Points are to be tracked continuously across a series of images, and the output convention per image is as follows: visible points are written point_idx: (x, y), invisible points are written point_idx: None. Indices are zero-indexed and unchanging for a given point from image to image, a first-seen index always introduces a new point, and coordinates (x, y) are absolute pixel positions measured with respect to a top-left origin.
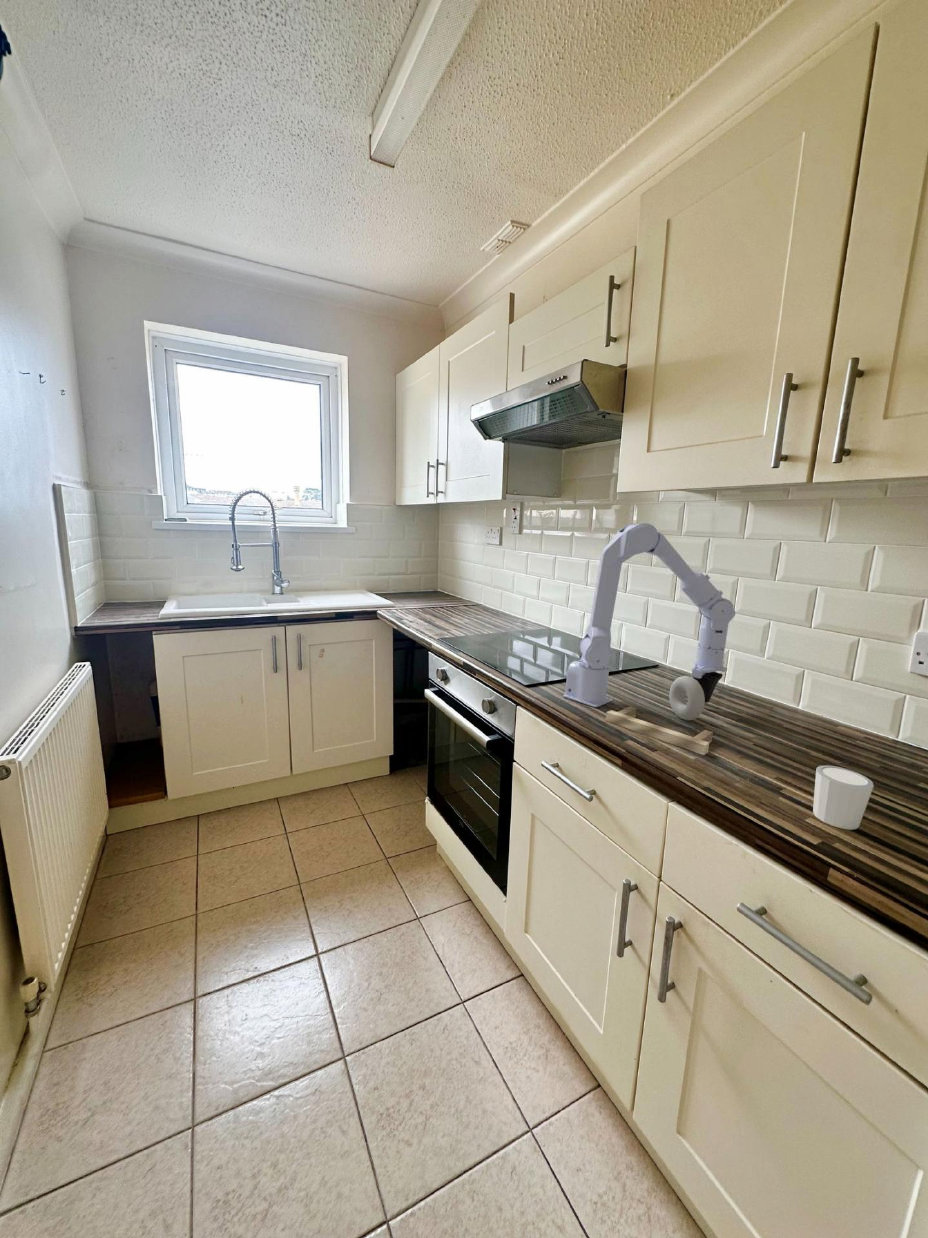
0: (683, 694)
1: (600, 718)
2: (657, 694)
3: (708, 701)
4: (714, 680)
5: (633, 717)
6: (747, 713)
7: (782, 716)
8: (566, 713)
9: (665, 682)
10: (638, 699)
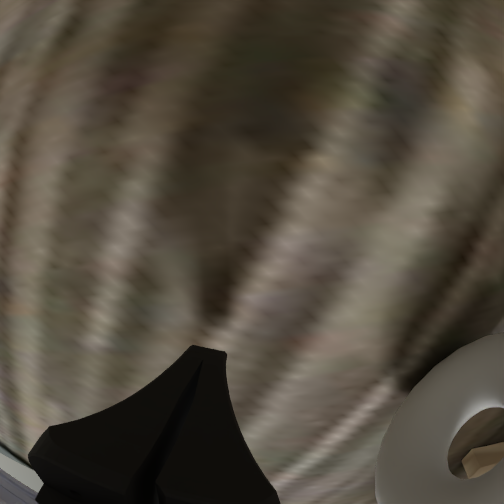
0: (443, 467)
1: None
2: None
3: (200, 348)
4: (277, 498)
5: (480, 447)
6: (101, 125)
7: (45, 10)
8: None
9: None
10: (300, 494)
